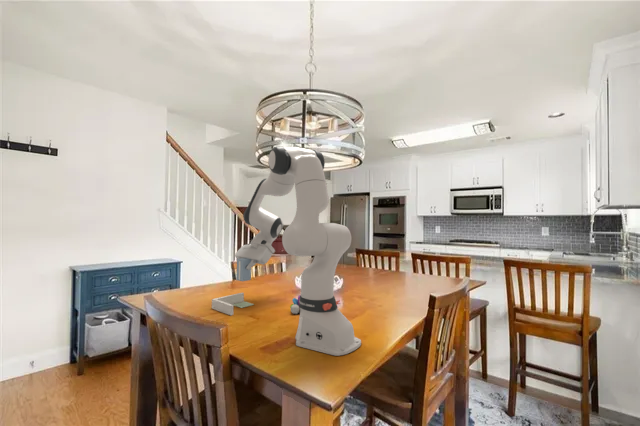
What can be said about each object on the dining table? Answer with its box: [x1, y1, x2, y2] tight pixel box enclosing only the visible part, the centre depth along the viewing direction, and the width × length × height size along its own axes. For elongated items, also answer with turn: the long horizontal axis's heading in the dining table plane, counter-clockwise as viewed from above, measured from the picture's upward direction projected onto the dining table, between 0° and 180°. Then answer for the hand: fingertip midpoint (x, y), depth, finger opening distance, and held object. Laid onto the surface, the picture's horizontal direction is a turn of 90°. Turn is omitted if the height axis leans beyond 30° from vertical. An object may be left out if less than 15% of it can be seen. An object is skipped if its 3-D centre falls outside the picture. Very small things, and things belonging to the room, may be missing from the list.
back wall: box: [211, 292, 245, 310], centre depth 145 cm, size 1×16×4 cm, turn 140°
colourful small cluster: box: [289, 294, 301, 315], centre depth 136 cm, size 8×10×7 cm
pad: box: [232, 300, 255, 309], centre depth 145 cm, size 7×7×1 cm
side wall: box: [213, 298, 235, 316], centre depth 135 cm, size 13×1×4 cm, turn 50°
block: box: [236, 258, 252, 282], centre depth 145 cm, size 4×5×10 cm
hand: (242, 268), depth 145 cm, fingers closed on block, 4 cm apart
